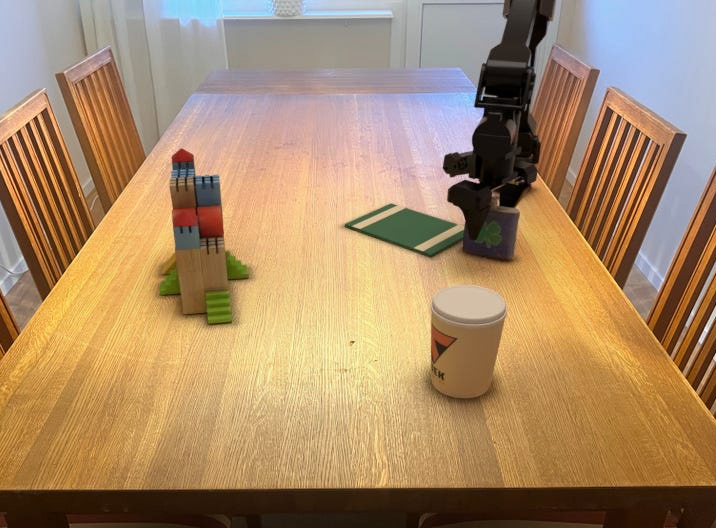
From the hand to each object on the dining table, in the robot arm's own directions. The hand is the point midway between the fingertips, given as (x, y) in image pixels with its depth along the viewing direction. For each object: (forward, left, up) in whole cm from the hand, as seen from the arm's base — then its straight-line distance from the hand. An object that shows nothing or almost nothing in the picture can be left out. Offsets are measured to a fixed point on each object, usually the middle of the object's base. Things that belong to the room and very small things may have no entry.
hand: (487, 231), depth 127 cm
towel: (0, -16, -4) cm, 17 cm away
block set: (+39, -28, -5) cm, 48 cm away
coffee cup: (+35, +19, -5) cm, 40 cm away
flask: (0, 0, -5) cm, 5 cm away
